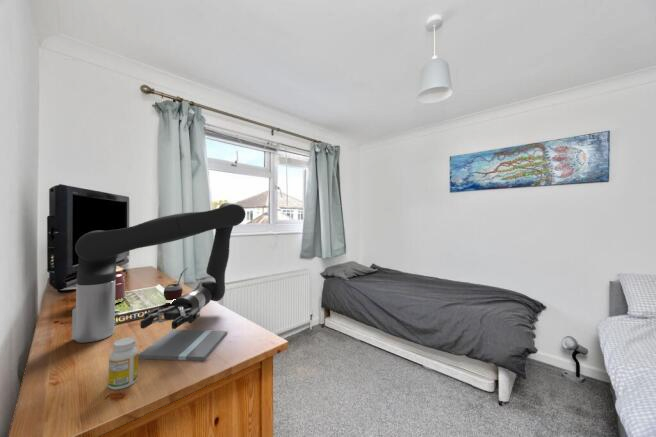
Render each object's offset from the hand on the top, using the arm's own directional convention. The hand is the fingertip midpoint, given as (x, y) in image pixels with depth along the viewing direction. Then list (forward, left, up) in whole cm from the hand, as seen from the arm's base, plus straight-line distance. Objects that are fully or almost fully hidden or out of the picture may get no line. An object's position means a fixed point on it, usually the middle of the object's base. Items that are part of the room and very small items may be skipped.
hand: (157, 325), depth 72 cm
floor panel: (+5, +7, -9) cm, 12 cm away
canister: (-48, +41, -9) cm, 64 cm away
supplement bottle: (0, -11, -9) cm, 14 cm away
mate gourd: (-20, +43, -9) cm, 48 cm away
